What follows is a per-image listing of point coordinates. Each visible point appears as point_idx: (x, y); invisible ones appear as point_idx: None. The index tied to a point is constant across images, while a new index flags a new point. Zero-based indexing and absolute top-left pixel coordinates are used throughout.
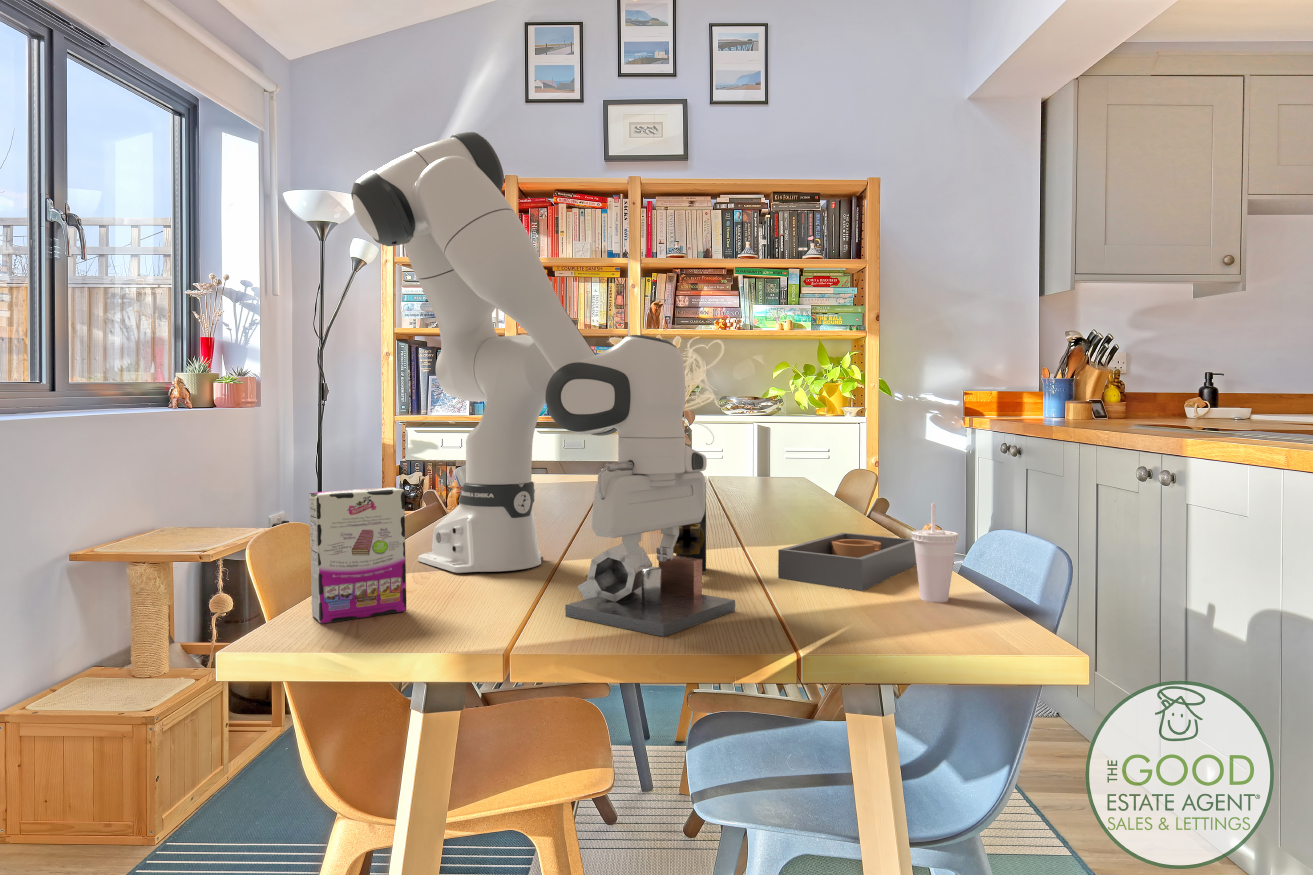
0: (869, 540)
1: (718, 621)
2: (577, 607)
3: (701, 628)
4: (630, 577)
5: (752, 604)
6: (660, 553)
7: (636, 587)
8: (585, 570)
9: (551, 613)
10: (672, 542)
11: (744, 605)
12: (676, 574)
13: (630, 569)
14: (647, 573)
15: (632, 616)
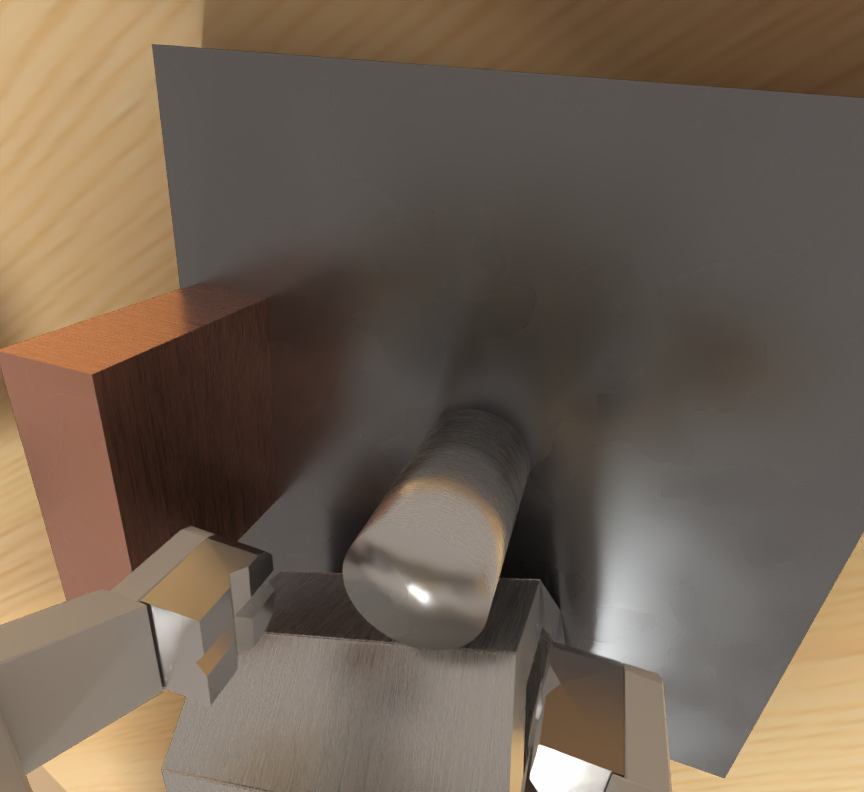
0: None
1: (447, 5)
2: (752, 726)
3: (668, 3)
4: (527, 654)
5: (40, 48)
6: (237, 635)
7: None
8: (129, 783)
9: (691, 775)
10: (81, 633)
11: (82, 78)
12: (201, 459)
13: (517, 703)
14: (494, 581)
15: None
